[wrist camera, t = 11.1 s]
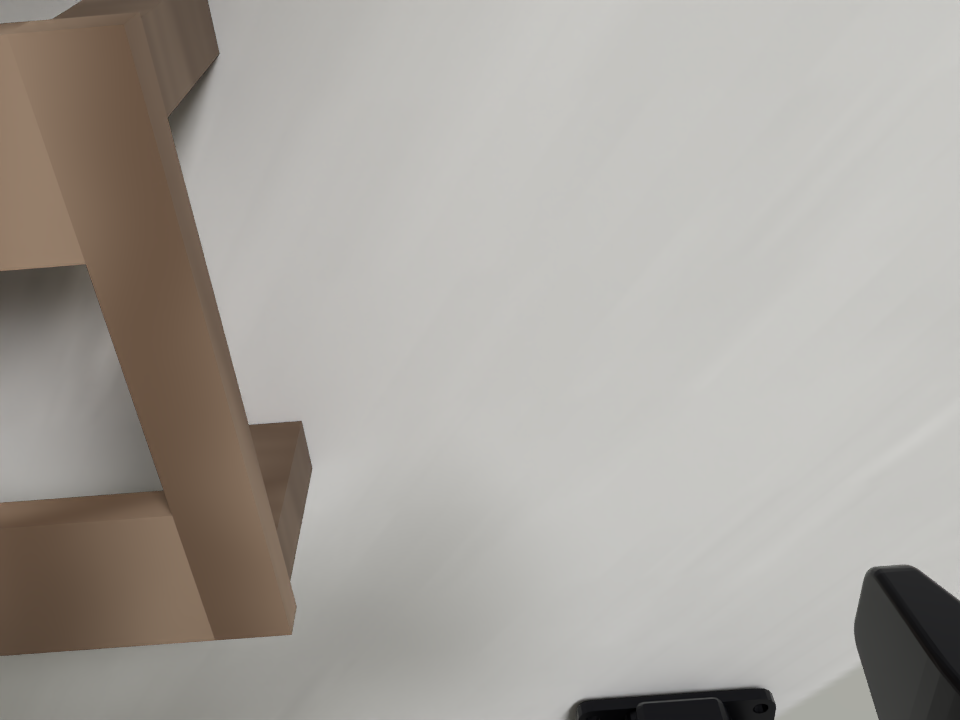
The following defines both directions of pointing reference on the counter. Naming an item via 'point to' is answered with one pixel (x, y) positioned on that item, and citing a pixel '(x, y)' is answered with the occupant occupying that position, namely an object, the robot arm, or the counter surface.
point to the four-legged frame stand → (137, 349)
